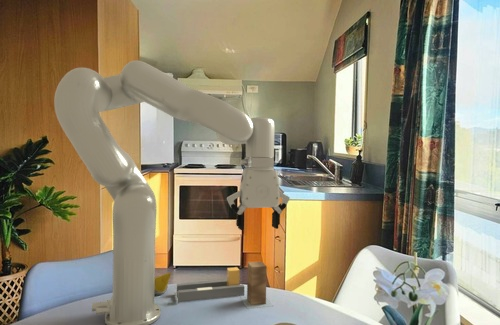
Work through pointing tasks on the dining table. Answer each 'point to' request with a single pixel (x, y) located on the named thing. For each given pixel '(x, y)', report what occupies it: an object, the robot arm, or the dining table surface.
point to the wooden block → (256, 283)
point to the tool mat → (255, 305)
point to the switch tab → (232, 276)
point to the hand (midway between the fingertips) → (258, 228)
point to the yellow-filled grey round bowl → (161, 283)
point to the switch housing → (207, 290)
